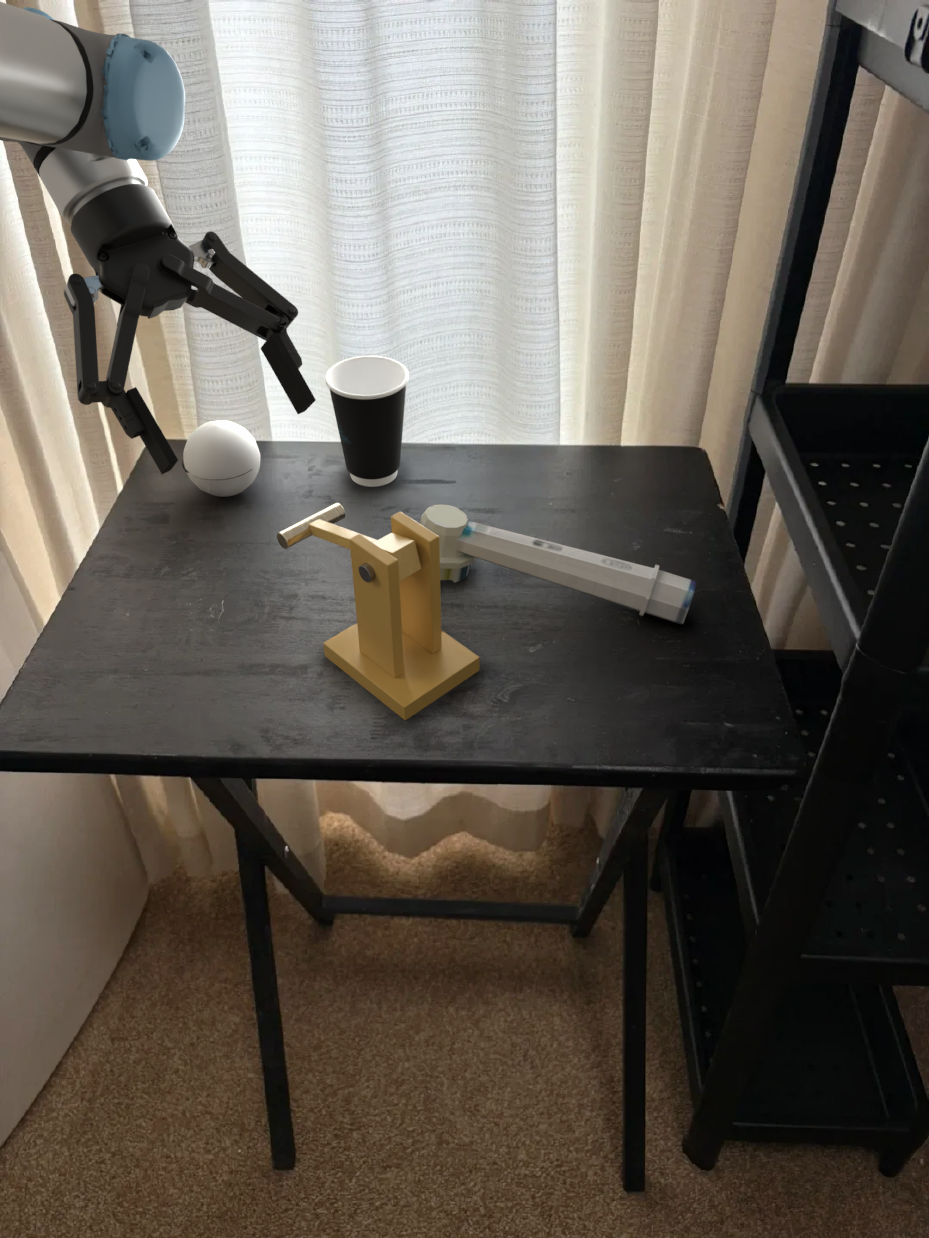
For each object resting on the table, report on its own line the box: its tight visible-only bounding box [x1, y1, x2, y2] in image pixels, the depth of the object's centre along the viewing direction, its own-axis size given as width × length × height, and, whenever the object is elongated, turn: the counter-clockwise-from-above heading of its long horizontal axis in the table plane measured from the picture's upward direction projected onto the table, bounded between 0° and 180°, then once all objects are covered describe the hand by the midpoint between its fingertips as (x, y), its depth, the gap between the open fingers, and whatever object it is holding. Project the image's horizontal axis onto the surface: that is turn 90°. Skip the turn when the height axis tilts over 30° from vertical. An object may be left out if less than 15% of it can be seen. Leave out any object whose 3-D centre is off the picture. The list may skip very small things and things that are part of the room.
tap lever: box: [276, 502, 421, 581], centre depth 81 cm, size 13×6×2 cm, turn 43°
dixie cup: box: [324, 355, 410, 488], centre depth 102 cm, size 8×8×11 cm
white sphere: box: [181, 419, 261, 498], centre depth 100 cm, size 10×7×7 cm
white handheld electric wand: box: [418, 504, 698, 625], centre depth 90 cm, size 5×7×25 cm
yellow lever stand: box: [322, 511, 481, 721], centre depth 81 cm, size 10×8×13 cm
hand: (241, 436), depth 87 cm, fingers open, 13 cm apart
